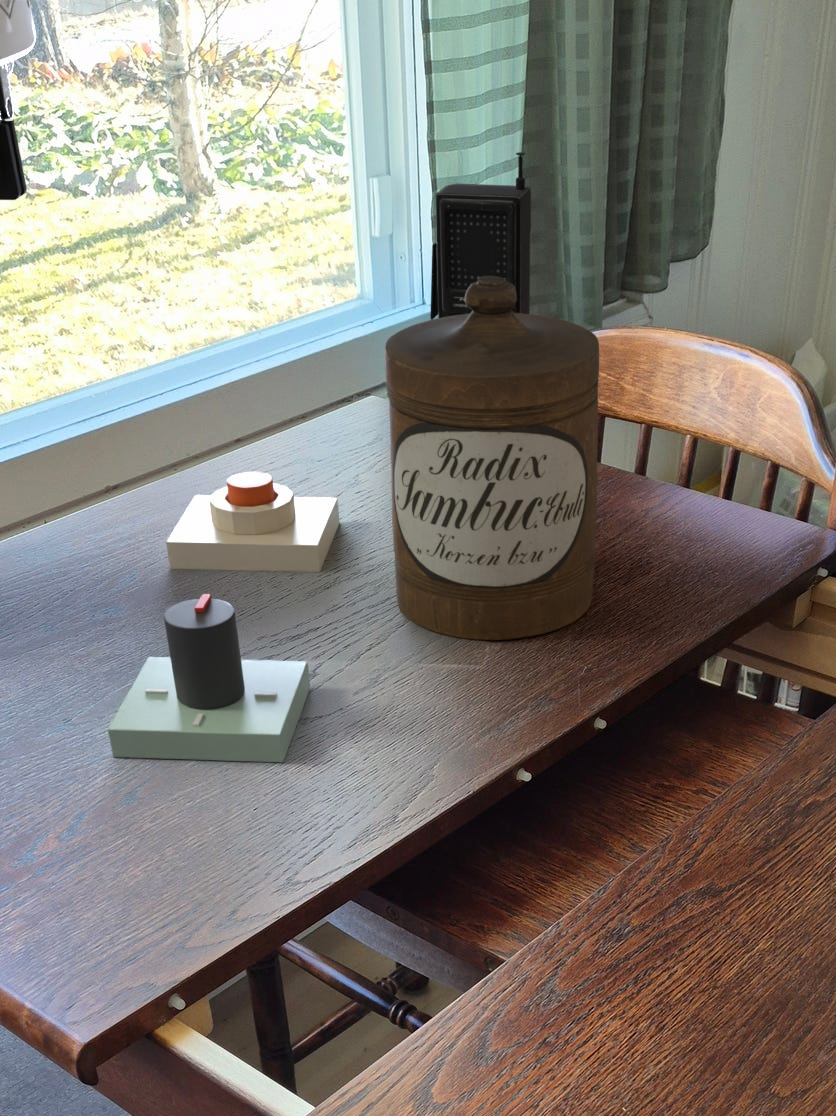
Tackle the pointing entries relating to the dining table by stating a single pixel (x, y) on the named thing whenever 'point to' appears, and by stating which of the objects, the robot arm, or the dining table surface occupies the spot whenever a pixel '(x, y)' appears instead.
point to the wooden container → (493, 468)
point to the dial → (204, 652)
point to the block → (254, 533)
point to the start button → (250, 489)
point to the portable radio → (480, 242)
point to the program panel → (212, 716)
